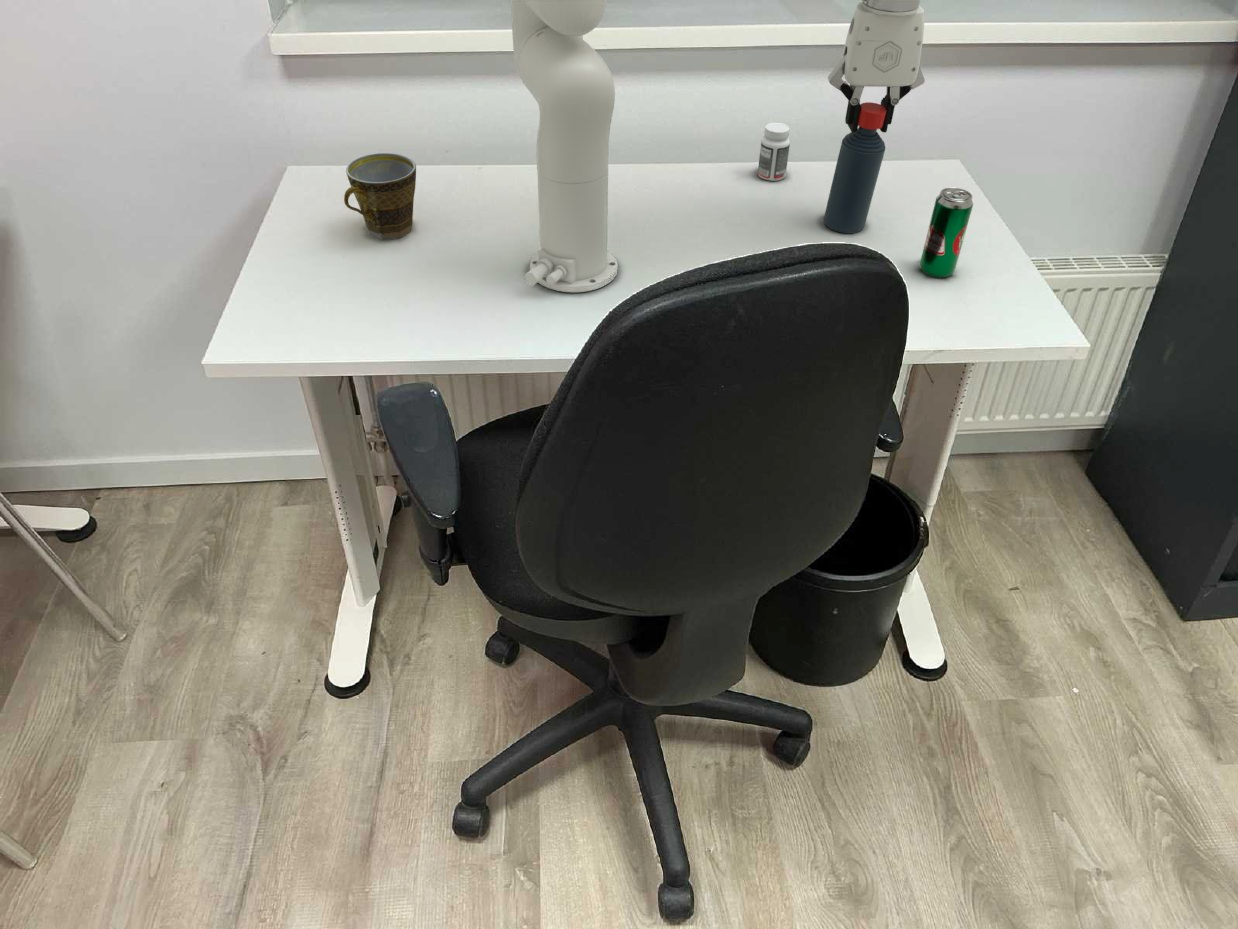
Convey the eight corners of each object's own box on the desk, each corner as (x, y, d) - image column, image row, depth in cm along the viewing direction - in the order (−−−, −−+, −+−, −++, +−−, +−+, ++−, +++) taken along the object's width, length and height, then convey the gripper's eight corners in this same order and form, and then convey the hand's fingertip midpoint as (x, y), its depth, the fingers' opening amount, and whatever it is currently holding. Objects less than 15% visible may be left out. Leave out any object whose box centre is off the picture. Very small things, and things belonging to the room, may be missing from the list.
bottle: (864, 236, 153) (894, 124, 141) (822, 229, 153) (849, 118, 141) (864, 216, 157) (893, 106, 145) (823, 210, 158) (849, 100, 146)
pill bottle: (785, 169, 169) (791, 121, 164) (785, 182, 166) (792, 133, 160) (757, 168, 170) (763, 120, 164) (757, 180, 166) (763, 131, 160)
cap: (857, 116, 146) (860, 100, 144) (883, 121, 145) (887, 105, 144) (854, 126, 143) (857, 110, 142) (881, 131, 143) (885, 115, 141)
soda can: (911, 264, 146) (930, 188, 138) (940, 259, 148) (961, 183, 140) (931, 281, 143) (951, 204, 135) (961, 275, 144) (982, 199, 136)
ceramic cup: (386, 208, 156) (377, 146, 149) (436, 225, 152) (430, 163, 146) (328, 242, 148) (316, 179, 141) (380, 261, 144) (370, 197, 137)
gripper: (836, 4, 130) (815, 139, 143) (961, 5, 131) (929, 139, 143) (825, -13, 136) (805, 118, 148) (944, -13, 137) (915, 118, 149)
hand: (867, 127), depth 146 cm, fingers closed on cap, 3 cm apart
